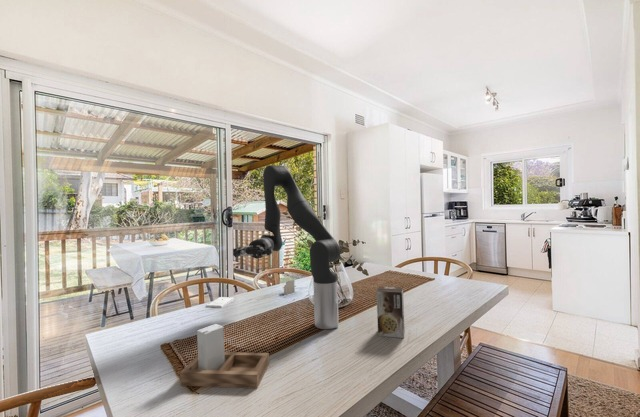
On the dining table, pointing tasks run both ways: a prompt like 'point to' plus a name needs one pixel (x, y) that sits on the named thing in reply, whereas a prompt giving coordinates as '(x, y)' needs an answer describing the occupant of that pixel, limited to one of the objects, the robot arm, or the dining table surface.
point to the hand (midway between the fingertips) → (246, 254)
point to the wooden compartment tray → (228, 371)
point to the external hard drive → (220, 302)
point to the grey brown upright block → (390, 312)
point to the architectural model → (289, 287)
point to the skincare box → (211, 347)
